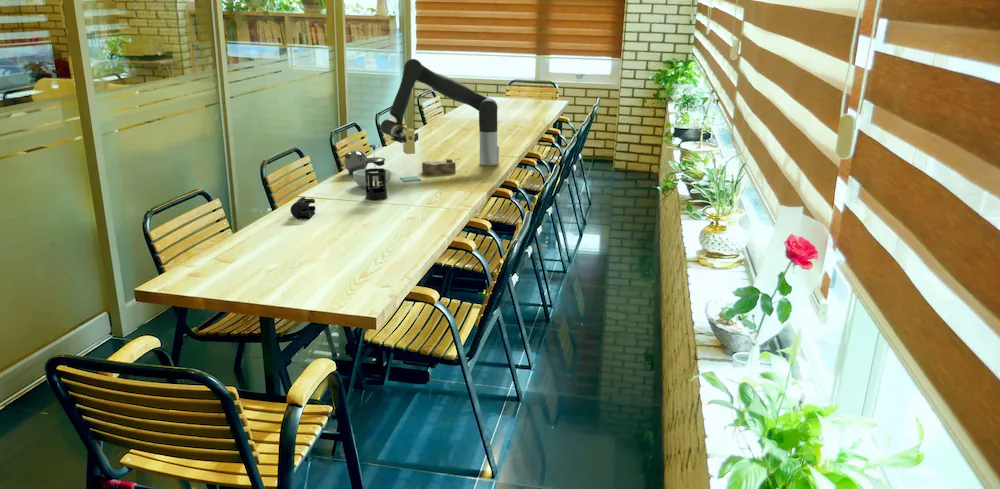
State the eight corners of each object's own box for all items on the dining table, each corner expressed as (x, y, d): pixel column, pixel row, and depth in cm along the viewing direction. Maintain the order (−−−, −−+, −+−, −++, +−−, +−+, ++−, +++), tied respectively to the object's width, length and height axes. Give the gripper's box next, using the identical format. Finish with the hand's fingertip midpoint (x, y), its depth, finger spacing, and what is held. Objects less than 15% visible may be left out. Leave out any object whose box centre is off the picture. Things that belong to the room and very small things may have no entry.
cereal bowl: (397, 184, 352) (396, 169, 350) (380, 192, 337) (379, 177, 335) (364, 181, 358) (364, 166, 355) (346, 189, 343) (346, 174, 340)
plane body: (451, 170, 380) (450, 157, 378) (455, 172, 374) (455, 160, 372) (422, 172, 374) (422, 160, 372) (426, 175, 369) (426, 162, 367)
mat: (415, 176, 366) (415, 176, 366) (421, 180, 359) (420, 179, 359) (399, 178, 363) (399, 177, 363) (404, 181, 356) (404, 181, 356)
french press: (380, 201, 322) (377, 148, 315) (360, 199, 325) (357, 146, 318) (393, 195, 333) (390, 143, 325) (373, 193, 336) (371, 141, 328)
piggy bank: (341, 177, 364) (339, 153, 361) (348, 170, 378) (347, 147, 375) (364, 177, 364) (363, 154, 360) (371, 171, 378) (369, 148, 374)
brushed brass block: (411, 151, 360) (410, 128, 357) (415, 153, 355) (414, 130, 352) (403, 151, 359) (402, 128, 355) (407, 154, 354) (406, 130, 350)
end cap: (298, 212, 306) (297, 196, 304) (316, 213, 306) (314, 196, 304) (291, 219, 297) (289, 203, 295) (309, 220, 297) (307, 203, 294)
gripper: (385, 126, 364) (395, 132, 349) (414, 125, 369) (425, 131, 354) (386, 142, 366) (396, 149, 351) (414, 140, 371) (425, 146, 356)
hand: (410, 140), depth 353 cm, fingers closed on brushed brass block, 4 cm apart
